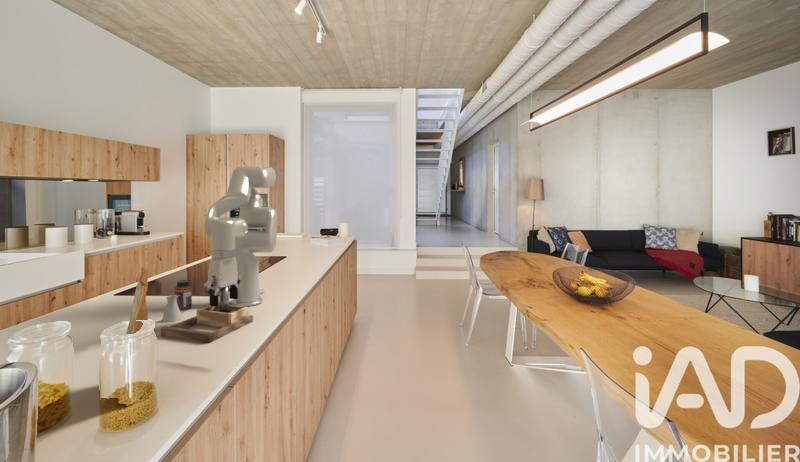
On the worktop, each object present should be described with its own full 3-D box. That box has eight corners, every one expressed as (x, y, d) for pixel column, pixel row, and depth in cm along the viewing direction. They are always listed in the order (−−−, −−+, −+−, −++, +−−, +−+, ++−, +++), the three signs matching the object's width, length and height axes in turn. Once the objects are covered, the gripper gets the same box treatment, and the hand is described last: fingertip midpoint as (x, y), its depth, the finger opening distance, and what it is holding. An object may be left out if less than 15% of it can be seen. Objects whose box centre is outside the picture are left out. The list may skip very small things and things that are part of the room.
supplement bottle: (171, 309, 149) (170, 281, 148) (185, 305, 154) (184, 278, 153) (181, 311, 146) (181, 283, 145) (195, 307, 152) (194, 280, 151)
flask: (173, 327, 128) (172, 299, 127) (155, 325, 129) (154, 298, 128) (189, 321, 135) (188, 294, 134) (172, 319, 136) (171, 293, 136)
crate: (215, 316, 136) (215, 303, 136) (248, 320, 133) (248, 307, 132) (196, 324, 127) (196, 310, 127) (231, 328, 124) (231, 314, 124)
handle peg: (223, 318, 132) (223, 282, 131) (230, 318, 132) (230, 283, 131) (217, 320, 129) (217, 284, 128) (224, 321, 129) (224, 285, 128)
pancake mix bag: (159, 369, 97) (156, 265, 95) (149, 406, 80) (145, 280, 78) (128, 374, 94) (124, 266, 92) (110, 413, 77) (105, 282, 75)
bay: (210, 320, 136) (210, 309, 136) (253, 325, 132) (253, 314, 132) (161, 340, 116) (160, 327, 116) (209, 347, 112) (209, 334, 111)
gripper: (231, 250, 138) (231, 295, 139) (195, 257, 121) (196, 308, 123) (248, 251, 136) (249, 297, 138) (214, 258, 120) (215, 310, 121)
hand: (224, 302), depth 130 cm, fingers open, 9 cm apart
